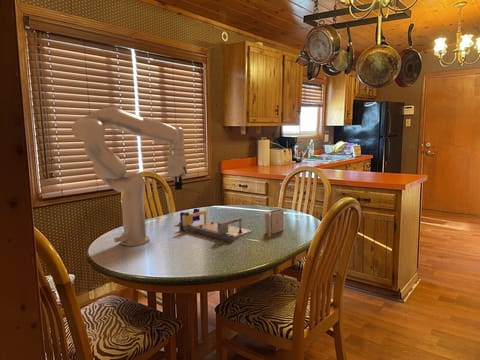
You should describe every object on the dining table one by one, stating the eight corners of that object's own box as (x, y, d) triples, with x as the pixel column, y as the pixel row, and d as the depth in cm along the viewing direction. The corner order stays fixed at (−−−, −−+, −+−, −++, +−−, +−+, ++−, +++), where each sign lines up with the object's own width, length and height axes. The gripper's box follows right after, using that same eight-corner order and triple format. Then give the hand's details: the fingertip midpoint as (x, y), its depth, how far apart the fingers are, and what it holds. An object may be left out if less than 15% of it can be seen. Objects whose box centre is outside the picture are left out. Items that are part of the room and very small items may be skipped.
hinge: (270, 236, 168) (269, 215, 166) (260, 234, 171) (259, 214, 170) (284, 229, 179) (284, 209, 177) (275, 228, 182) (275, 208, 181)
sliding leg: (186, 230, 176) (185, 213, 175) (182, 229, 178) (182, 213, 177) (207, 224, 188) (207, 208, 186) (204, 223, 189) (204, 207, 188)
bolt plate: (235, 237, 167) (235, 234, 166) (194, 228, 185) (194, 225, 185) (251, 232, 176) (251, 229, 175) (211, 223, 194) (210, 220, 194)
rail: (228, 243, 159) (228, 233, 158) (179, 230, 180) (179, 222, 180) (234, 241, 162) (234, 231, 161) (185, 229, 183) (185, 220, 183)
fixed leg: (221, 239, 161) (221, 223, 160) (217, 238, 162) (217, 223, 161) (243, 231, 172) (242, 217, 171) (239, 231, 173) (239, 216, 172)
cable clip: (193, 218, 206) (193, 208, 205) (199, 219, 203) (199, 209, 202) (178, 223, 196) (178, 212, 195) (184, 224, 193) (184, 213, 193)
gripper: (161, 152, 180) (163, 189, 182) (180, 153, 170) (182, 192, 173) (173, 151, 185) (175, 187, 188) (192, 152, 175) (194, 189, 178)
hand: (178, 189), depth 180 cm, fingers closed
